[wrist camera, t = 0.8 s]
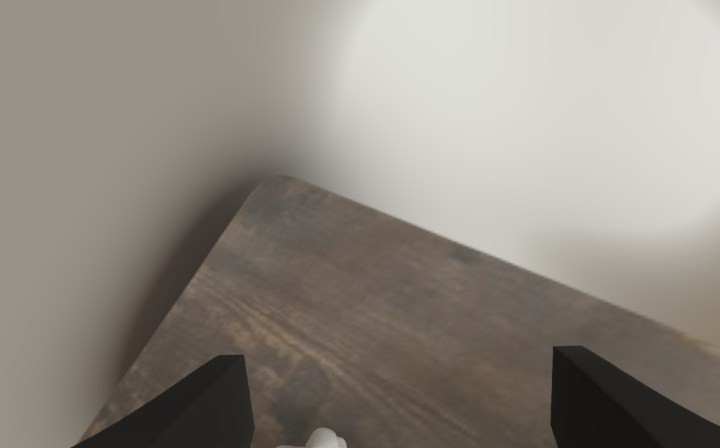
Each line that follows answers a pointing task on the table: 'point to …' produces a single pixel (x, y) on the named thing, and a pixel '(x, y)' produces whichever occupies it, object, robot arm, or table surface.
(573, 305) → the table surface
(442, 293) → the table surface
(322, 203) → the table surface
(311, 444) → the white rounded lump
